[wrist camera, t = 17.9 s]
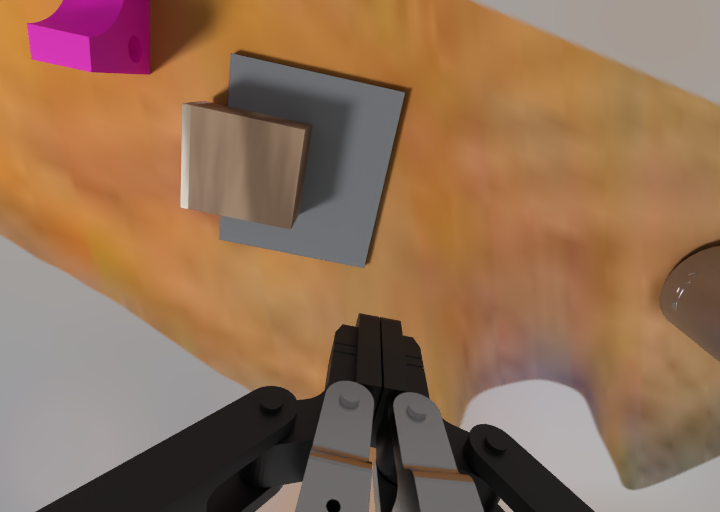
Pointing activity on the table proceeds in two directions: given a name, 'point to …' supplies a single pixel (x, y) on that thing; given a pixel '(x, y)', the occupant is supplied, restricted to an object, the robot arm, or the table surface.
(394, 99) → the mat
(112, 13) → the toy block
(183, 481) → the robot arm
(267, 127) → the slab
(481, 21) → the table surface
